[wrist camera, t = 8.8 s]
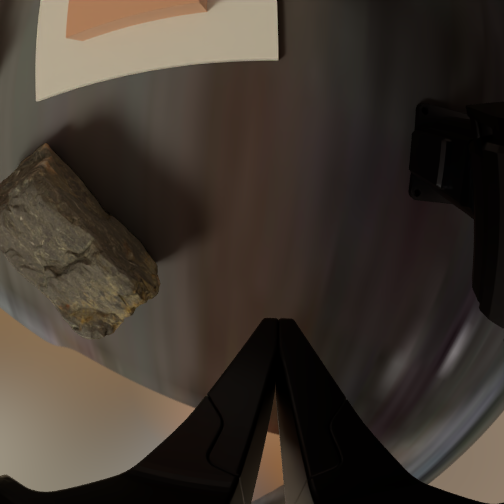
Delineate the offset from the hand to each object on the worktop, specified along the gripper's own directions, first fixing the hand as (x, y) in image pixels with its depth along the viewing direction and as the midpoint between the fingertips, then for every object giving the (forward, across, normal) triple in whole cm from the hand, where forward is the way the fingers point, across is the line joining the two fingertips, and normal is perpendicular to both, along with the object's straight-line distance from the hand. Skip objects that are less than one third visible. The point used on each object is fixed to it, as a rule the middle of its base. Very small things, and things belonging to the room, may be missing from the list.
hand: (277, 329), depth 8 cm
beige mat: (+12, +9, -16) cm, 22 cm away
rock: (+12, +15, +1) cm, 20 cm away
